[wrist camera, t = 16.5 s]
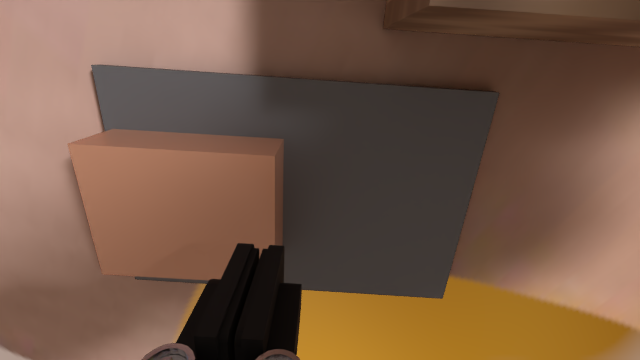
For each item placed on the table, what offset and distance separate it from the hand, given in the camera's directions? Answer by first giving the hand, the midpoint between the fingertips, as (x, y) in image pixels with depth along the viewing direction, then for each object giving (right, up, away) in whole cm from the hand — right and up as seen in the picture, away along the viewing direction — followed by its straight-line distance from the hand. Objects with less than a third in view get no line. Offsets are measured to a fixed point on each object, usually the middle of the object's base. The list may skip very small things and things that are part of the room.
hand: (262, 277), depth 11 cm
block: (0, +2, +5) cm, 5 cm away
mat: (+1, +3, +7) cm, 7 cm away
